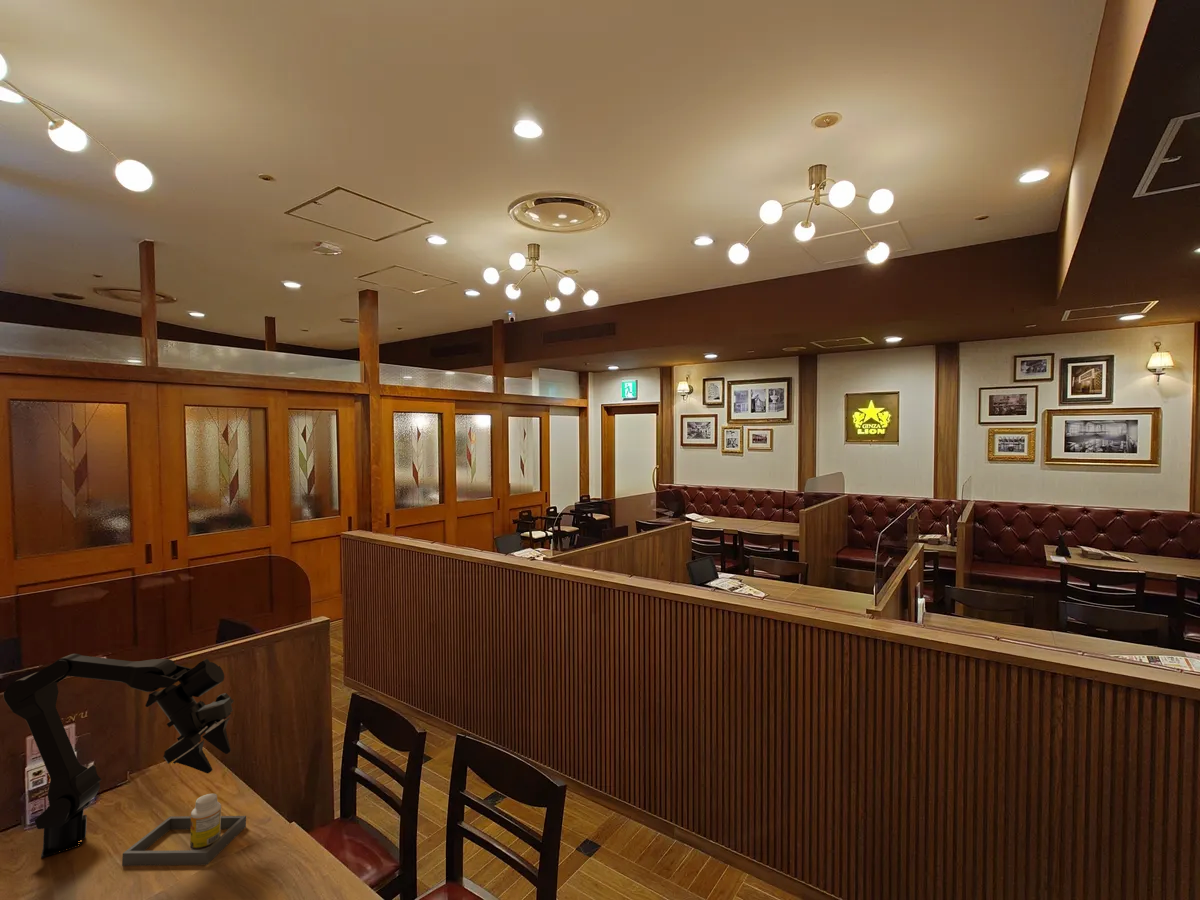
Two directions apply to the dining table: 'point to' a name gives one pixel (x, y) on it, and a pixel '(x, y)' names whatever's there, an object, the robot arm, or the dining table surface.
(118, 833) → the dining table surface
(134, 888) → the dining table surface
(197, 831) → the supplement bottle
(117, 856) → the dining table surface
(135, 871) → the dining table surface
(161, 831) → the gray open frame
